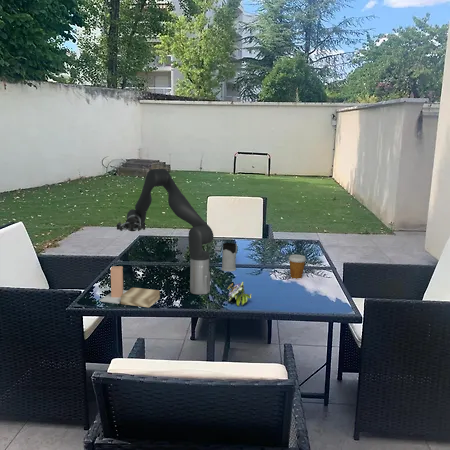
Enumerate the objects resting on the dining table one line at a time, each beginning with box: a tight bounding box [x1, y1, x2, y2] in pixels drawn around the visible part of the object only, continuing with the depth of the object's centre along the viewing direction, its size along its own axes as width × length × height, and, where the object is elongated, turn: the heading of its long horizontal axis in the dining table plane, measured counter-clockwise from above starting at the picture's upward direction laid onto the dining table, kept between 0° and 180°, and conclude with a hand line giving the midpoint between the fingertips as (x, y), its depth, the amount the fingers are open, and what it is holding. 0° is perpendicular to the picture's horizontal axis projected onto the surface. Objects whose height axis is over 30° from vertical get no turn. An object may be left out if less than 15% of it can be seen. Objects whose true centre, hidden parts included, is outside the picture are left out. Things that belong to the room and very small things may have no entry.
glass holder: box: [221, 242, 238, 272], centre depth 266 cm, size 9×14×15 cm, turn 152°
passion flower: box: [226, 281, 252, 307], centre depth 212 cm, size 11×11×12 cm
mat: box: [98, 289, 128, 305], centre depth 216 cm, size 10×16×1 cm, turn 165°
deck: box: [120, 287, 161, 308], centre depth 210 cm, size 14×12×4 cm
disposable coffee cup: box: [288, 254, 307, 279], centre depth 251 cm, size 10×10×12 cm
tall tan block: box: [110, 265, 124, 297], centre depth 214 cm, size 5×4×14 cm
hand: (129, 229), depth 225 cm, fingers open, 8 cm apart
